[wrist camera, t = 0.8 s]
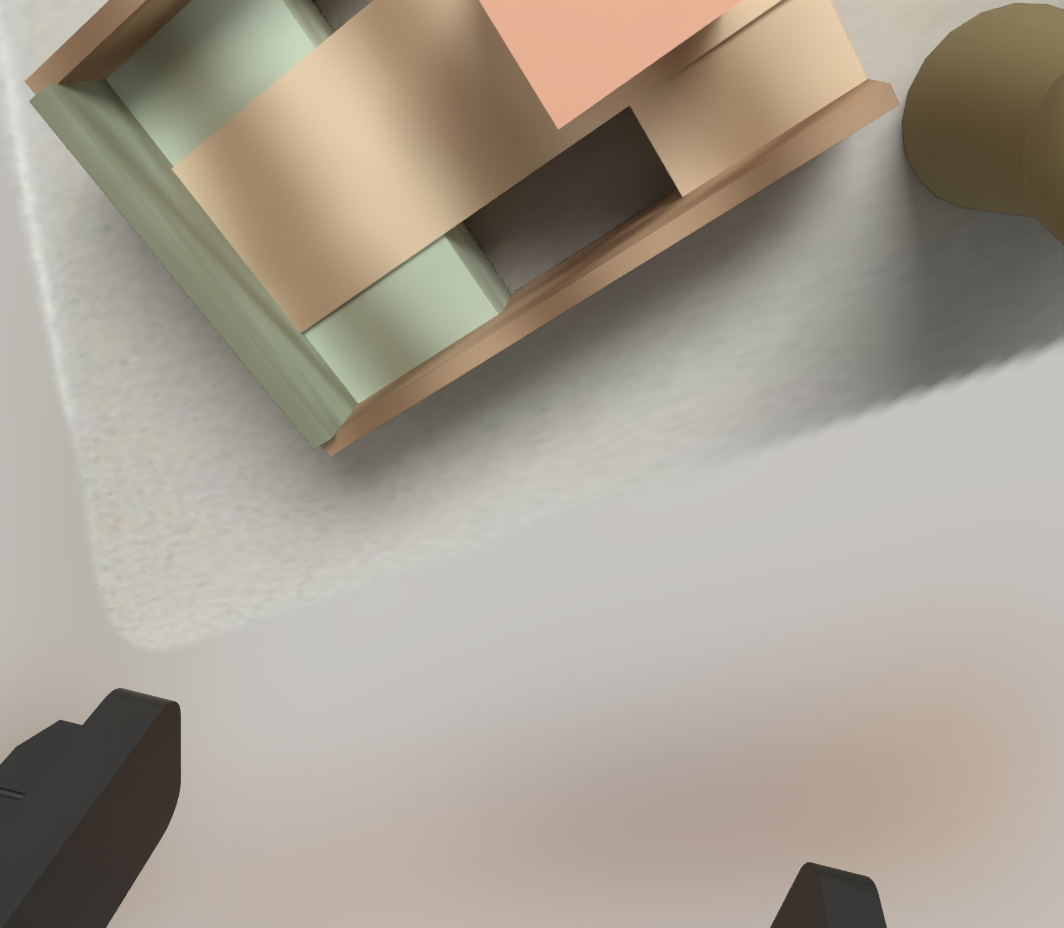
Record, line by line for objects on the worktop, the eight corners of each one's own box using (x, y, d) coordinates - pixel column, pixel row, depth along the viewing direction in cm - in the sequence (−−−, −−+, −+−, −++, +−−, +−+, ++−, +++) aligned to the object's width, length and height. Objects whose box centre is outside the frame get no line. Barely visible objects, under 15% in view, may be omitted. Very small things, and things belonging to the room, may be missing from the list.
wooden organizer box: (624, -384, 23) (619, -504, 18) (855, 92, 28) (905, 105, 22) (122, 73, 30) (13, 82, 25) (373, 398, 34) (324, 463, 29)
